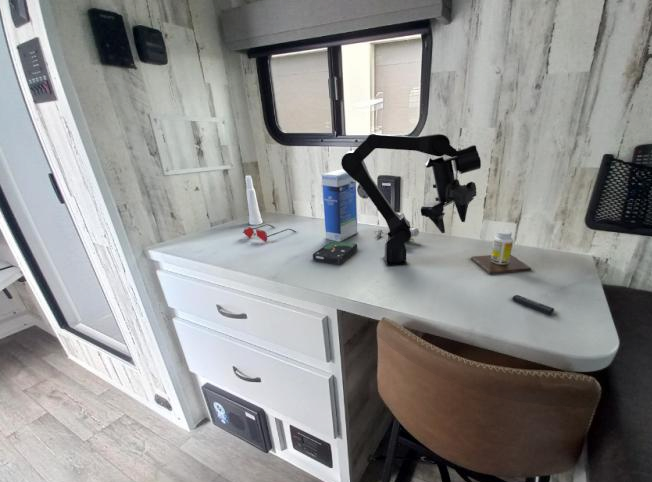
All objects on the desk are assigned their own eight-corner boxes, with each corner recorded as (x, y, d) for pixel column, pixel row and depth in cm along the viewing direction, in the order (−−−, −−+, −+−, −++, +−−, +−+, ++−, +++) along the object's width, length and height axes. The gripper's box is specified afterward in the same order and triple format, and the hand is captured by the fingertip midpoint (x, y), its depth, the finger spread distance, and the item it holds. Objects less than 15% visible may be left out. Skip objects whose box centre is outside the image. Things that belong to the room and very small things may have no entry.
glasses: (243, 238, 127) (241, 226, 125) (273, 227, 140) (272, 216, 138) (266, 243, 120) (264, 231, 118) (296, 232, 133) (294, 221, 131)
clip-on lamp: (370, 247, 123) (409, 247, 112) (366, 233, 121) (405, 231, 110) (385, 237, 132) (423, 235, 121) (381, 223, 129) (420, 220, 118)
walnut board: (489, 274, 94) (489, 271, 93) (470, 259, 104) (471, 256, 104) (530, 270, 96) (531, 267, 95) (508, 256, 106) (509, 253, 106)
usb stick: (554, 312, 74) (556, 307, 74) (550, 316, 73) (551, 311, 72) (515, 298, 81) (517, 292, 80) (511, 301, 79) (512, 296, 79)
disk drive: (339, 266, 101) (357, 250, 113) (339, 258, 100) (357, 243, 112) (312, 261, 104) (332, 246, 117) (311, 254, 103) (332, 239, 116)
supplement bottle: (509, 260, 101) (515, 230, 96) (508, 266, 96) (514, 235, 92) (491, 257, 103) (496, 228, 99) (489, 263, 99) (494, 233, 94)
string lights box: (343, 230, 135) (341, 169, 124) (358, 233, 132) (356, 170, 121) (325, 239, 125) (320, 173, 114) (340, 242, 121) (337, 174, 110)
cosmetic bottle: (252, 221, 150) (244, 174, 140) (264, 221, 149) (257, 174, 140) (247, 224, 144) (238, 176, 135) (259, 225, 144) (251, 176, 134)
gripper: (441, 188, 81) (452, 242, 87) (487, 167, 88) (494, 218, 94) (414, 189, 90) (425, 237, 96) (457, 169, 98) (465, 216, 103)
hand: (453, 227), depth 97 cm, fingers open, 9 cm apart
